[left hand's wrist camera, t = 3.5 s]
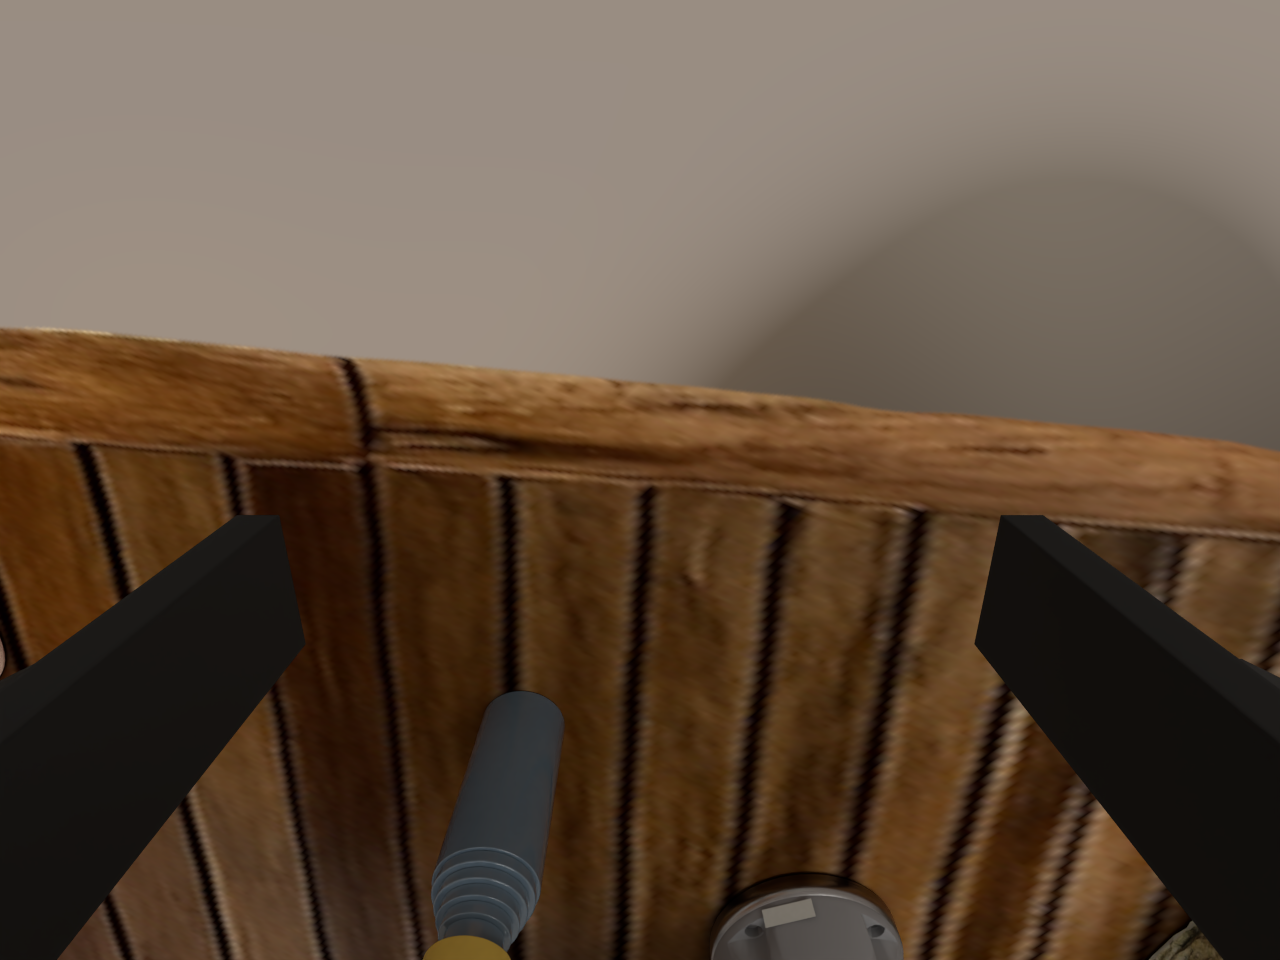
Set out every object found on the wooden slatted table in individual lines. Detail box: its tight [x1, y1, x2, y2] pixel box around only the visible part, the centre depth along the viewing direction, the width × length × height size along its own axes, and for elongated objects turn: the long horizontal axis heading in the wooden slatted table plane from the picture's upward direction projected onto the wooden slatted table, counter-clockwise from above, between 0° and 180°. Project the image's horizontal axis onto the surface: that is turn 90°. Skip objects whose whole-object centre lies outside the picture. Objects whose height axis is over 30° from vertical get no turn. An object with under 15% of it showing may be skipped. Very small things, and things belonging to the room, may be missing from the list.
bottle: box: [431, 691, 565, 952], centre depth 40 cm, size 6×6×18 cm
